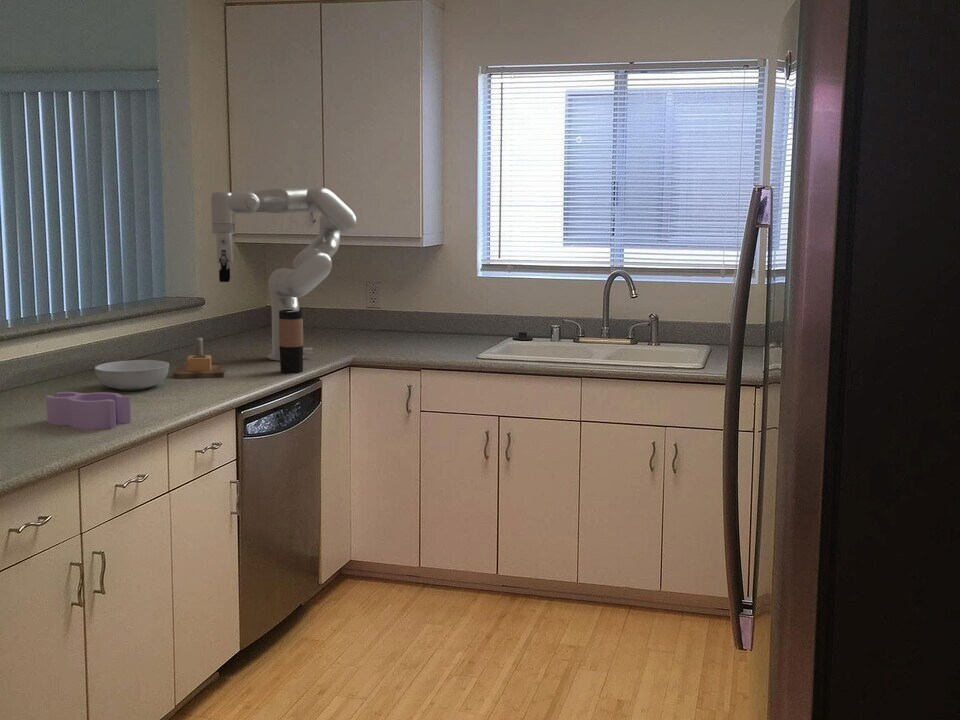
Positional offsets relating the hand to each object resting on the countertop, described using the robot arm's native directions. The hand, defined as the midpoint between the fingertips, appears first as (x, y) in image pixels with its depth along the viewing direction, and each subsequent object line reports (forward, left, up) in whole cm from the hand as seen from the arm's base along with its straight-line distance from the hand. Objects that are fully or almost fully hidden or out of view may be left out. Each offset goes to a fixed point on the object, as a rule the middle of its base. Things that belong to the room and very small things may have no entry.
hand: (224, 280), depth 352 cm
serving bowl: (+26, +41, -29) cm, 56 cm away
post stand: (+8, +19, -28) cm, 35 cm away
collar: (+8, +19, -27) cm, 34 cm away
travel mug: (-21, +19, -28) cm, 40 cm away
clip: (+32, +90, -29) cm, 100 cm away
